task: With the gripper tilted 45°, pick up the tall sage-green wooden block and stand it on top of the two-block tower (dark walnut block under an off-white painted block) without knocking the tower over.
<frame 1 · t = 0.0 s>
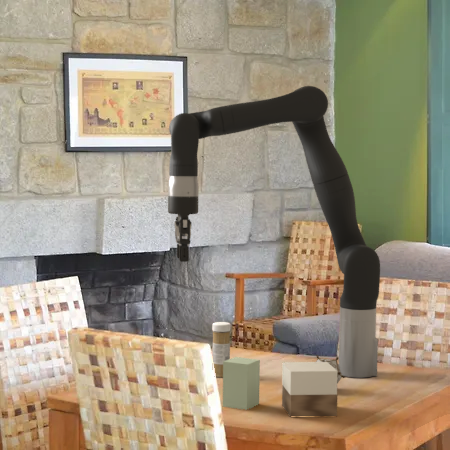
hand: (182, 259, 239), 29 cm above the table, tool pointing down, fingers open, 8 cm apart
sage block: (240, 405, 212), on the table
tower top: (308, 389, 208), point 5 cm above the table, touching tower bottom
game die: (325, 391, 228), on the table
sprinkles bottle: (220, 376, 242), on the table
tower bottom: (308, 412, 208), on the table, touching tower top
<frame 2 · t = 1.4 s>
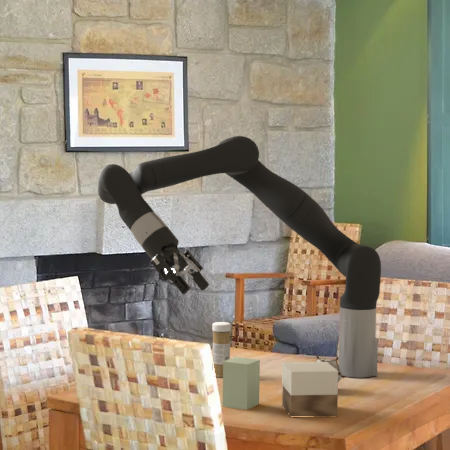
hand: (196, 289, 216), 25 cm above the table, tool tilted 45°, fingers open, 8 cm apart
nothing on the table moved.
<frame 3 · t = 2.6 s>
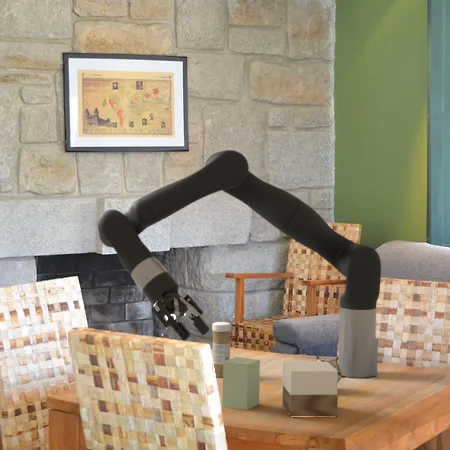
hand: (197, 335, 217), 14 cm above the table, tool tilted 45°, fingers open, 8 cm apart
nothing on the table moved.
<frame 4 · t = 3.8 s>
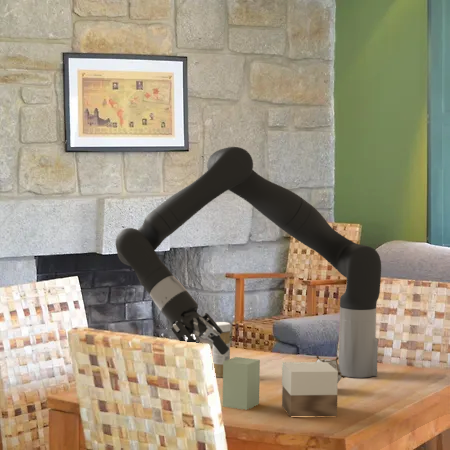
hand: (217, 355, 214), 10 cm above the table, tool tilted 45°, fingers open, 8 cm apart
nothing on the table moved.
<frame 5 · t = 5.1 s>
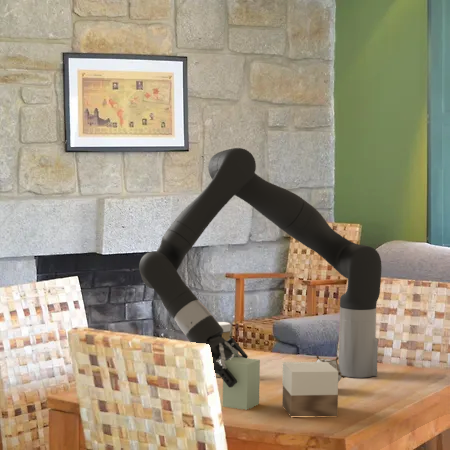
hand: (243, 381, 212), 5 cm above the table, tool tilted 45°, fingers open, 8 cm apart
nothing on the table moved.
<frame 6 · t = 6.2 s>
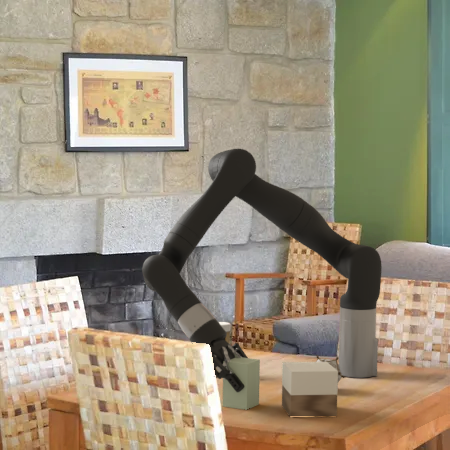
hand: (248, 386, 211), 4 cm above the table, tool tilted 45°, fingers closed on sage block, 6 cm apart
sage block: (240, 405, 212), on the table, touching gripper
everything else where it was.
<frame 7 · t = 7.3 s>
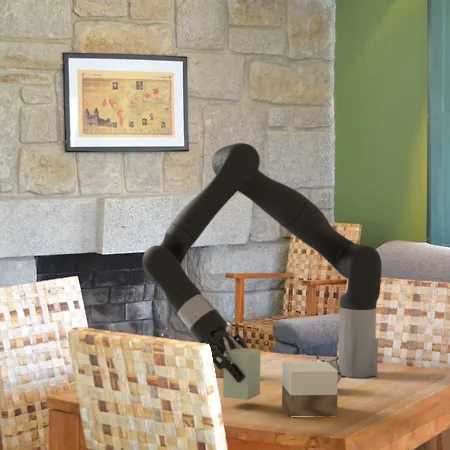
hand: (248, 377, 211), 6 cm above the table, tool tilted 45°, fingers closed on sage block, 6 cm apart
sage block: (241, 395, 212), point 2 cm above the table, touching gripper
tower top: (309, 389, 207), point 5 cm above the table
tower bottom: (308, 412, 208), on the table
everything else where it was.
when the fingers open (15 cm above the table, at t = 13.7 s): sage block stays where it is, resting on tower top.
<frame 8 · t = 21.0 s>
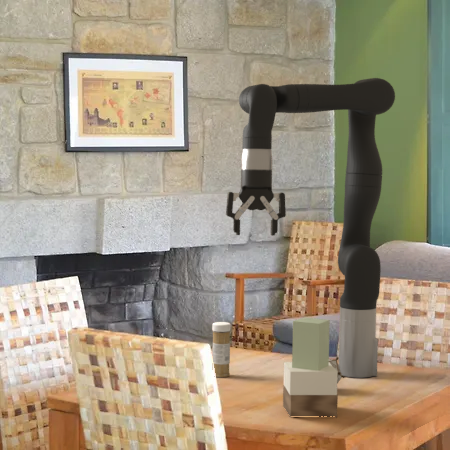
hand: (255, 235, 232), 36 cm above the table, tool pointing down, fingers open, 8 cm apart
sage block: (310, 366, 207), point 10 cm above the table, touching tower top
tower top: (309, 389, 207), point 5 cm above the table, touching sage block
everything else where it was.
at the end: sage block 0.2 cm off-centre on the tower top, point 5.0 cm above the tower top's base; sage block tilted 0°; tower top 0.1 cm off-centre on the tower bottom, point 5.0 cm above the tower bottom's base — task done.
